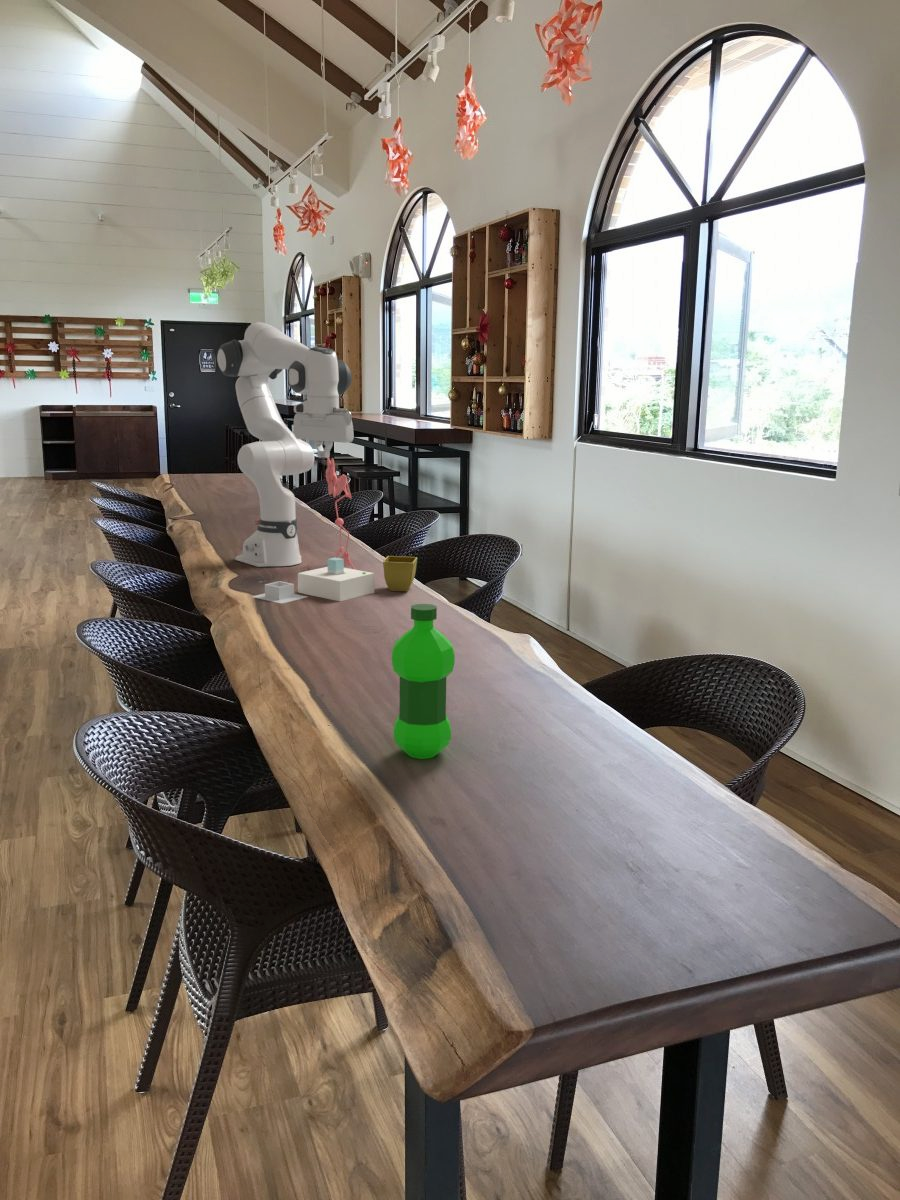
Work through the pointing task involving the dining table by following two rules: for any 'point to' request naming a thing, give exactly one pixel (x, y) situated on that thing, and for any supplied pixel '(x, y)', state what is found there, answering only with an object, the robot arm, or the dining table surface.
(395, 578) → the flower pot
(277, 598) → the holster
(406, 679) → the plastic bottle
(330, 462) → the figurine
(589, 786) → the dining table surface
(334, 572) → the plug
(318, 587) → the port
